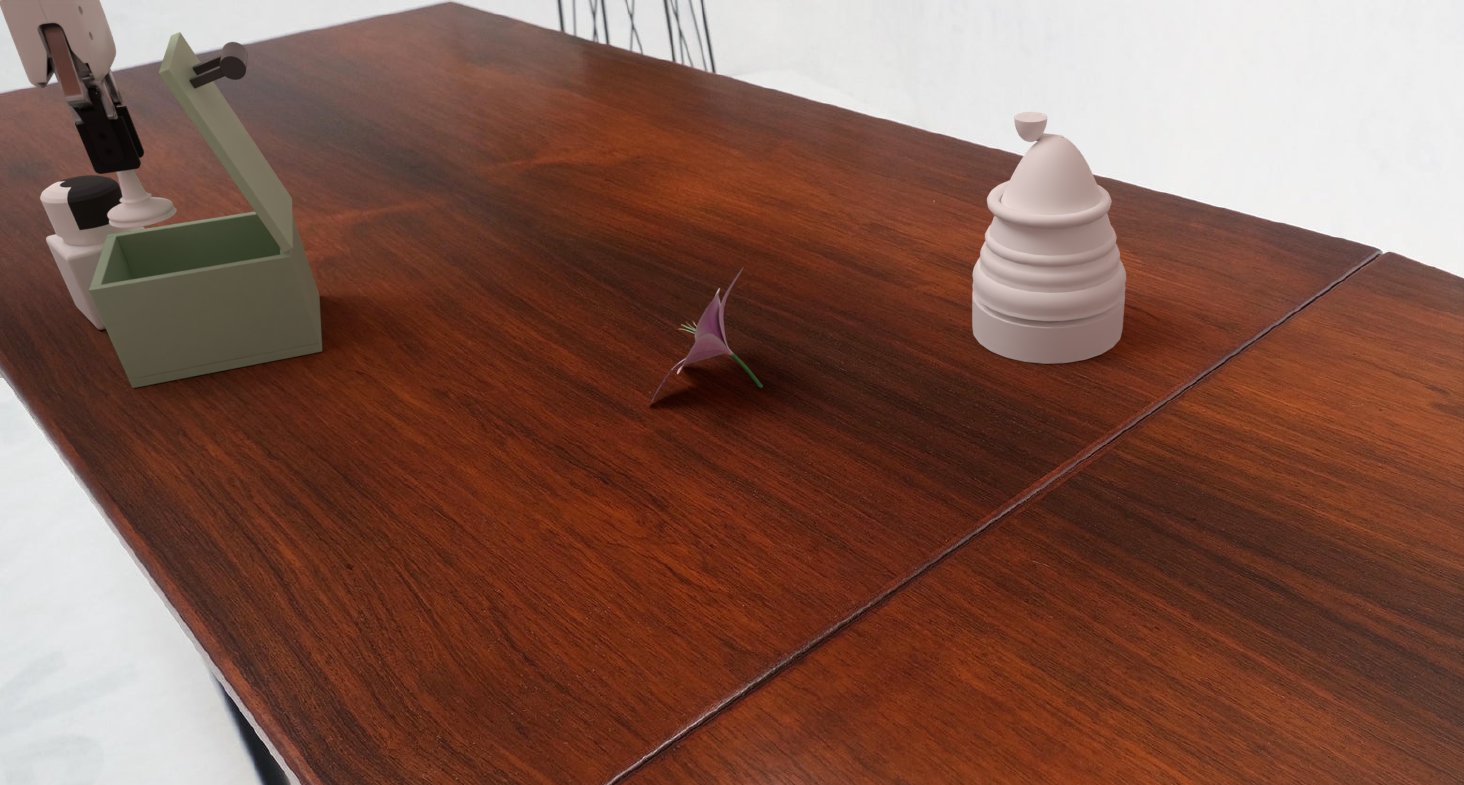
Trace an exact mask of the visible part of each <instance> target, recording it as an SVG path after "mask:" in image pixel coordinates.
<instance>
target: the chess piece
mask: <svg viewBox="0 0 1464 785" xmlns="http://www.w3.org/2000/svg"><path fill="white" fill-rule="evenodd" d="M96 94H97V93H96ZM117 117H118V116H117ZM116 175H117V180H118V184H119V186H120V189H121V192H122V198H121V199H120V202H122V203H121V204H119V205H117V206H115V207H113V208H112V209H111V210H110V211H109V212H108V214H107V216H108V218H109V219H110V220H109V224H110V225H111V226H113V227H117V228H136V227H148V226H151V225H156V224H159V223H162V222H165V221H166V220H169V219H170V218H172V217H174V216H175V215H176V214H177V210H178V209H177V208H176V207H175V206H174V203H173V201H172V200H170V199H168V198H165V197H160V196H159V197H158V196H153V195H152V193H150V192H147V191H146V189H145V188H144V186H143V185H142V183H141V180H140V179H139V177H138V175H137V174H136V172H135V169H133V170H126V171H119V172H116Z"/></svg>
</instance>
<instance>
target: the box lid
mask: <svg viewBox="0 0 1464 785" xmlns="http://www.w3.org/2000/svg"><path fill="white" fill-rule="evenodd" d="M248 56H249V54H248V51H247V49H246V47H245V46H244V45H243V44H241V43H239V42H237V41H229V42H227V43H225V44H224V45H223V47H222V50H221V54H219V55H216V56H214V57H212V58H209V59H206V60H204V61H200V59H199V58H198V57H197V55H196V53H195V52H194V51H193V49H192V48H191V46H190V44H189V43H188V42H187V40H186V38H185V37H184V36H183V34H182V32H180V31H179V32H176V33H174V34H172V35H170V38H169V41H168V43H167V46H166V50H165V52H164V55H163V59H162V61H161V65H160V68H159V70H158V75H159V77H160V78H161V80H162V81H163V82H164V84H165V85H166V87H167V88H168V89H169V91H170V92H171V94H172V95H173V97H174V98H175V99H176V101H177V102H178V104H179V105H180V107H181V108H182V110H183V111H184V112H185V114H186V115H187V117H188V119H189V120H190V121H191V122H192V124H193V125H194V127H195V128H196V130H197V131H198V132H199V134H200V135H201V137H202V138H203V140H204V141H205V142H206V144H207V145H208V148H210V149H211V151H212V152H213V154H214V156H215V157H216V158H217V160H218V161H219V163H220V164H221V165H222V167H223V168H224V170H225V171H226V172H227V174H228V176H229V177H230V178H231V180H232V181H233V183H234V184H235V185H236V187H237V188H238V190H239V191H240V193H241V194H242V196H243V197H244V198H245V200H246V201H247V203H248V204H249V205H250V207H251V208H252V209H253V212H256V214H257V215H258V217H259V218H260V220H261V221H262V222H263V224H264V225H265V227H266V228H267V230H268V231H269V232H270V234H271V235H272V237H273V238H274V240H275V241H276V242H277V244H278V245H279V247H280V248H281V250H282V251H283V252H287V251H289V250H291V249H293V224H292V214H293V198H292V196H291V195H290V193H289V191H288V190H287V189H286V187H285V186H284V184H283V183H282V182H281V180H280V178H279V177H278V175H277V174H276V172H275V171H274V169H273V168H272V166H271V165H270V163H269V162H268V160H267V159H266V158H265V156H264V155H263V153H262V151H261V150H260V148H259V147H258V146H257V144H256V143H255V141H254V140H253V138H252V137H251V135H250V134H249V132H248V131H247V129H246V128H245V126H244V125H243V123H242V121H241V120H240V119H239V117H238V116H237V114H236V113H235V111H234V110H233V108H232V107H231V106H230V104H229V103H228V100H226V98H225V96H224V94H223V93H222V92H221V90H220V89H219V88H218V86H217V85H216V83H215V81H217V80H219V79H222V78H224V77H225V78H227V79H229V80H232V81H238V80H241V79H242V78H244V77H245V76H246V73H247V68H248V67H247V65H248V58H249V57H248Z"/></svg>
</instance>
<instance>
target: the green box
mask: <svg viewBox="0 0 1464 785" xmlns="http://www.w3.org/2000/svg"><path fill="white" fill-rule="evenodd" d="M292 224H293V249H291V250H289V251H287V252H283V251H282V250H281V248H280V247H279V245H278V244H277V242H276V241H275V240H274V238H273V237H272V235H271V234H270V232H269V231H268V230H267V228H266V227H265V225H264V224H263V222H262V221H261V220H260V218H259V217H258V215H257V214H256V212H255V211H249V212H244V213H243V212H242V213H237V214H230V215H223V216H219V217H218V216H217V217H210V218H205V219H199V220H193V221H191V220H190V221H185V222H179V223H174V224H173V223H172V224H167V225H161V226H160V225H159V226H153V227H148V228H145V229H140V230H134V231H128V232H121V233H115V234H108V235H107V237H106V240H105V243H104V246H103V249H102V252H101V255H100V258H99V261H98V264H97V267H96V271H95V274H94V277H93V280H92V283H91V286H90V288H89V292H90V294H91V297H92V299H93V301H94V303H95V306H96V308H97V310H98V312H99V315H100V317H101V319H102V321H103V323H104V326H105V328H106V329H105V330H106V332H107V335H108V337H109V339H110V341H111V343H112V346H113V348H114V350H115V353H116V355H117V357H118V360H119V362H120V364H121V366H122V368H123V370H124V373H125V375H126V377H127V379H128V382H129V384H130V386H131V388H132V389H136V388H142V387H147V386H152V385H156V384H162V383H166V382H171V381H172V382H173V381H177V380H181V379H187V378H192V377H193V378H194V377H198V376H204V375H208V374H213V373H219V372H224V371H229V370H234V369H235V370H236V369H239V368H246V367H249V366H254V365H260V364H265V363H271V362H275V361H281V360H285V359H290V358H295V357H296V358H297V357H301V356H306V355H311V354H316V353H321V352H323V338H322V337H323V336H322V319H321V318H322V317H321V300H320V298H321V297H320V293H319V290H318V287H317V283H316V281H315V277H314V275H313V271H312V268H311V266H310V263H309V259H308V256H307V253H306V250H305V247H304V245H303V241H302V238H301V235H300V233H299V229H298V227H297V223H296V220H295V218H294V214H293V213H292Z"/></svg>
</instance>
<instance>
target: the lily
mask: <svg viewBox="0 0 1464 785" xmlns="http://www.w3.org/2000/svg"><path fill="white" fill-rule="evenodd" d="M744 267H745V266H742V268H741V269H740V271H739V272H738V273H737V275H736V276H735V277H734V278H733V280H732V282H731V284H730V285H729V286H728V287H727V290H726V291H725V294H724V296H723V297H722V300H720V295H719V294H720V290H721V288H720V287H719V288H718V289H717V290H716V293H715V295H714V297H713V298H712V300H711V302H709V304H708V305H707V307H706V308H705V310H704V311H703V314H702V315H701V317H700V318H699V320H698V322H697V325H696V321H694V320H691V322H692V324H693V325H694V326H695V328H694V327H693V326H692V325H691V324H689V323H688V322H687V321H686V320H685V324H686V325H685V324H683V323H681V324H680V326H681V327H683V328H676V330H678V331H685V332H688V333H690V334H691V333H692V334H694V341H695V342H694V343H693V345H692V347H691V348H690V349H689V352H688V354H687V355H686V357H684V359H681V361H679V362H677V364H675V366H673V367H672V368H671V370H670V371H668V373H667V374H666V375H665V376H664V378H663V380H662V381H661V383H660V385H659V386H658V388H657V389H656V391H655V393H654V394H653V397H652V398H651V401H650V402H649V404H648V406H649V407H650V406H651V405H652V402H653V401H654V399H655V398H656V395H657V394H658V393H659V391H660V390H661V389H662V387H663V385H664V383H665V382H666V380H667V379H668V378H669V377H670V375H671V374H672V373H673V372H674V371H675V370H676V369H677V368H678V370H677V371H676V374H677V375H679V374H680V373H681V371H682V369H683V367H685V366H686V365H689V364H692V363H693V364H694V363H696V362H699V361H702V360H706V359H710V358H713V357H717V356H721V355H728V356H730V357H731V358H732V359H733V360H735V361H736V363H738V364H739V365H740V367H741V368H743V369H744V371H745V372H746V373H747V374H748V375H749V377H750V378H751V379H752V380H753V381H754V383H755V384H756V385H757V386H758V388H759V389H762V388H763V387H764V385H763V384H762V383H761V382H760V380H759V379H758V378H757V377H756V375H755V374H754V373H753V371H751V369H750V368H749V367H748V366H747V365H746V364H745V363H744V361H742V359H740V358H739V357H738V356H737V355H736V354H735V353H734V352H733V351H732V350H731V349H730V347H729V346H728V341H727V337H726V331H725V322H724V314H725V306H726V303H727V302H726V301H727V299H728V297H729V294H730V292H731V290H732V289H733V287H734V285H735V283H736V281H737V279H738V278H739V276H740V275H741V273H742V272H743V269H744ZM687 325H688V326H687ZM684 328H686V329H684ZM679 366H680V367H679Z"/></svg>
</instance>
